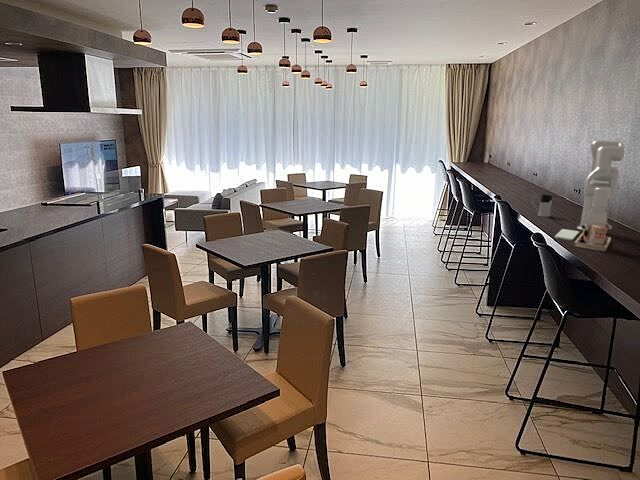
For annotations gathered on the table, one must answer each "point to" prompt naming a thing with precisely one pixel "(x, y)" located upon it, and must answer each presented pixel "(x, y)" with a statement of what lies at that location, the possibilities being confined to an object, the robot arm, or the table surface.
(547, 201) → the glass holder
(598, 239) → the stack of blocks
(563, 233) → the sage mat
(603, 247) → the beige open rectangular frame
